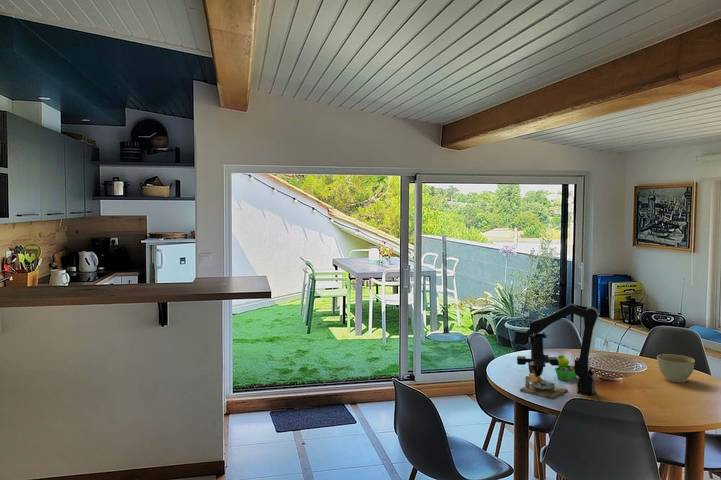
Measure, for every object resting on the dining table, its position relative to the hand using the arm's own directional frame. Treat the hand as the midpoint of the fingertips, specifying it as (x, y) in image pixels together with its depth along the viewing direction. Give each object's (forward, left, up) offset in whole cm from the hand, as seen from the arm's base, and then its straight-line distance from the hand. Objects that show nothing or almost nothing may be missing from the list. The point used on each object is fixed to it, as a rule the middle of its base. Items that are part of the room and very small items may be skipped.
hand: (537, 378), depth 255 cm
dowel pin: (+1, +8, -4) cm, 8 cm away
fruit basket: (-4, -22, -4) cm, 23 cm away
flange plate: (-4, +5, -1) cm, 6 cm away
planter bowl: (-44, -56, -4) cm, 71 cm away
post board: (-6, +6, -4) cm, 9 cm away
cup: (+6, -10, -4) cm, 13 cm away
